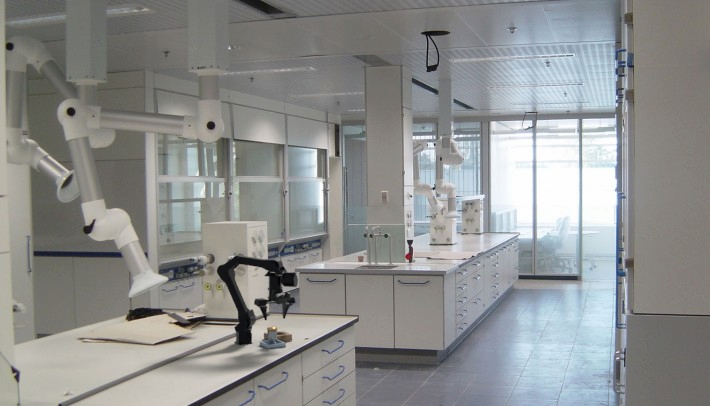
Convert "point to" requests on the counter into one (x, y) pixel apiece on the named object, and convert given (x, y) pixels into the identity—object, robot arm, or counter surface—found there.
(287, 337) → the brown square frame
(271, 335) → the pin
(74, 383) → the counter surface
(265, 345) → the tray
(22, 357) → the counter surface
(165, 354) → the counter surface
